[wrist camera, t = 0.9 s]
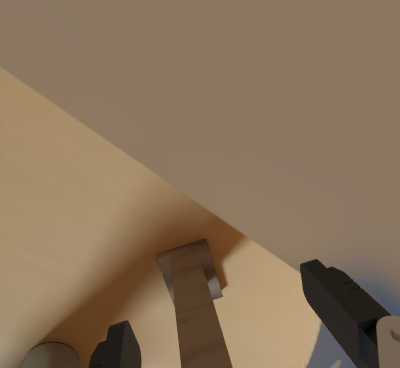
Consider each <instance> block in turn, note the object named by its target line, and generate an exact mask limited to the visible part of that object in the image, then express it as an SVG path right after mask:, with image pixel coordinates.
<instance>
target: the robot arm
mask: <svg viewBox="0 0 400 368" xmlns="http://www.w3.org/2000/svg"><path fill="white" fill-rule="evenodd" d="M300 271H301V278H302V285H303V292H304V295H305V297H306V300H307V301H308V303H309V305H310V306H311V307H312V309H313V310H314V311H315V313H316V314H317V315H318V317H319V318H320V319H321V321H322V322H323V323H324V324H325V326H326V327H327V328H328V330H329V331H330V332H331V334H332V335H333V336H334V337H335V339H336V340H337V342H338V343H339V344H340V346H341V347H342V348H343V350H344V351H345V352H346V354H347V355H348V356H349V357H350V359H351V360H352V361H353V363H354V364H355V365H356V367H357V368H400V316H392V315H391V314H390V313H388V312H387V311H386V310H385V309H384V308H383V307H382V306H381V305H380V304H378V303H377V302H376V301H375V300H374V299H373V298H372V297H371V296H370V295H369V294H368V293H366V292H365V291H364V290H363V289H361V288H360V286H359V285H358V284H357V283H355V282H353V280H352V279H351V278H350V277H349V276H348V275H347V274H346V273H344V272H343V271H341V270H338V269H336V268H334V267H330V268H326V267H325V266H324V265H323V264H322V263H321V262H319V260H317V259H315V260H312V261H308V262H305V263H302V264H301V265H300ZM77 365H78V357H77V354H76V353H75V351H74V350H73V349H72V348H70V347H69V346H67V345H64V344H60V343H45V344H41V345H39V346H36V347H35V348H33V349H32V350H31V351H30V352H29V353H28V354H27V356H26V358H25V360H24V362H23V364H22V366H21V368H77ZM89 368H141V352H140V347H139V344H138V342H137V340H136V337H135V335H134V333H133V330H132V328H131V326H130V323H129V322H128V321H127V320H126V321H123V322H120V323H117V324H114V325H110V326H109V329H108V334H107V339H106V341H103V342H100V343H99V344H98V345H97V347H96V349H95V351H94V352H93V354H92V356H91V360H90V364H89Z"/></svg>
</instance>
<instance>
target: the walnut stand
mask: <svg viewBox="0 0 400 368" xmlns="http://www.w3.org/2000/svg"><path fill="white" fill-rule="evenodd" d="M157 261H158V264H159V266H160V269H161V272H162V274H163V277H164V280H165V282H166V285H167V288H168V290H169V293H170V296H171V298H172V301H173V304H174V306H175V312H176V322H177V331H178V340H179V349H180V359H181V368H233V367H232V364H231V360H230V357H229V354H228V350H227V347H226V344H225V340H224V337H223V333H222V330H221V327H220V323H219V320H218V317H217V313H216V310H215V307H214V303H213V300H214V299H217V298H220V297H223V295H222V292H221V288H220V285H219V282H218V278H217V275H216V271H215V268H214V264H213V261H212V258H211V254H210V251H209V247H208V244H207V241H206V239H203V240H200V241H197V242H193V243H190V244H187V245H184V246H181V247H178V248H175V249H172V250H169V251H166V252H163V253H159V254H157Z"/></svg>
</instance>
